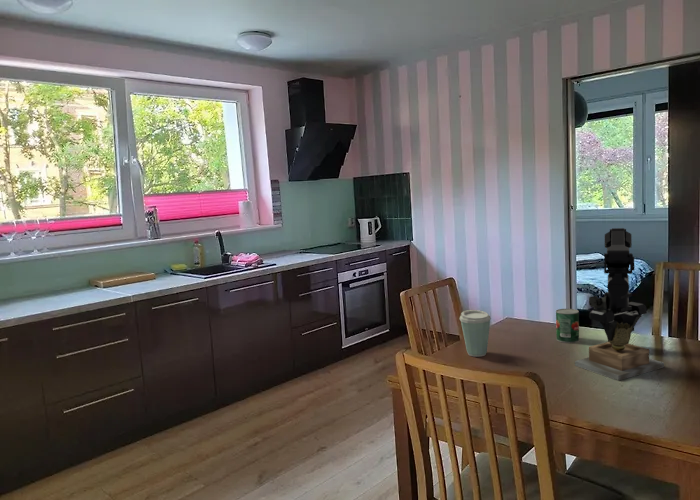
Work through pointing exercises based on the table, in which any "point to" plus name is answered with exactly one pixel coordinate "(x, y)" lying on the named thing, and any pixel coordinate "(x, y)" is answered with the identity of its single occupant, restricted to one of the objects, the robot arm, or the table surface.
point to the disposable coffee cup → (475, 331)
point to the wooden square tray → (618, 361)
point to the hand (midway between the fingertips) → (618, 338)
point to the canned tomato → (567, 325)
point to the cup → (621, 336)
